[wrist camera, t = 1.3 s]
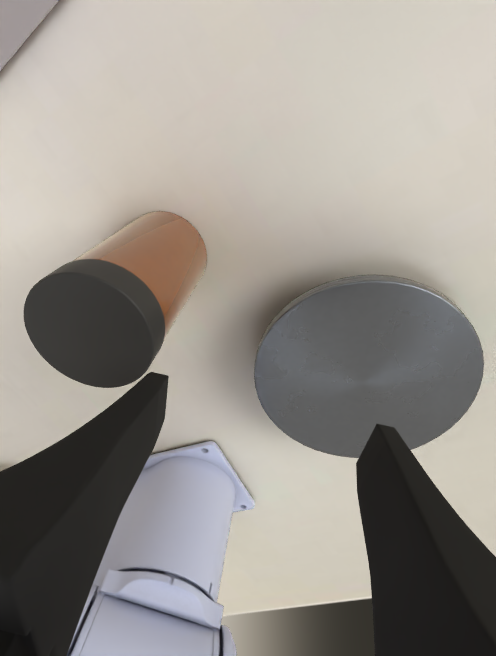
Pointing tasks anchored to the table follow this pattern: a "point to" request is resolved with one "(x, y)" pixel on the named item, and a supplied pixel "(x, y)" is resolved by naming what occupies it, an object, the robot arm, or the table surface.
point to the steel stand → (367, 364)
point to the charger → (19, 23)
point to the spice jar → (116, 301)
